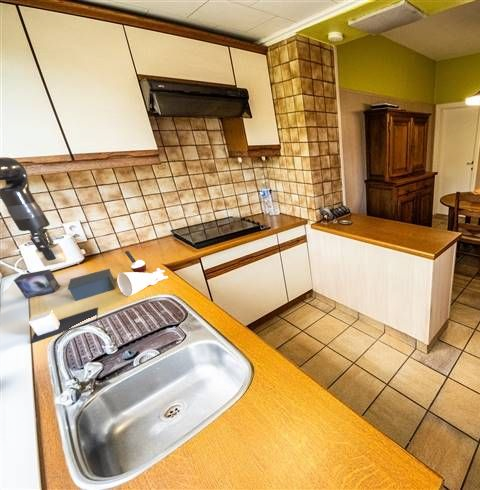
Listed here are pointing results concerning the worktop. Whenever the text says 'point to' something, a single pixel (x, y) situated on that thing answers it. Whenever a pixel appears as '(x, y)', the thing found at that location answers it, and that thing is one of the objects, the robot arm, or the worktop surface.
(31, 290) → the small box
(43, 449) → the worktop surface
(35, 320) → the white box
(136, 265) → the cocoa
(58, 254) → the cream box
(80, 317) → the rubber mat
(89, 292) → the storage box
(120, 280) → the rocket engine
